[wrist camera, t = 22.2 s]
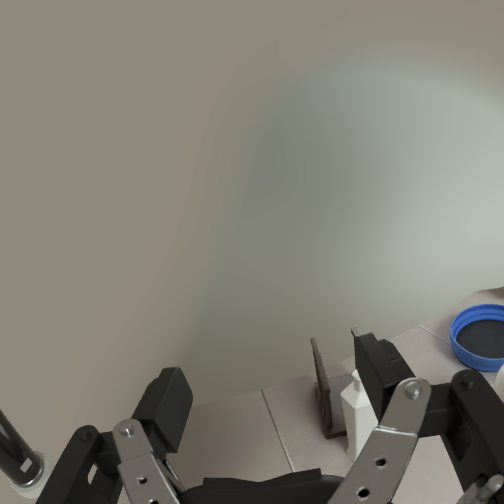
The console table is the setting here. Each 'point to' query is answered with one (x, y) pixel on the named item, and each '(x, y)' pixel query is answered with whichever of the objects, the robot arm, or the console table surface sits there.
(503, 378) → the lightbulb
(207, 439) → the console table surface
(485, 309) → the bowl
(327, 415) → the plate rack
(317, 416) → the console table surface
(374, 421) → the perfume bottle
